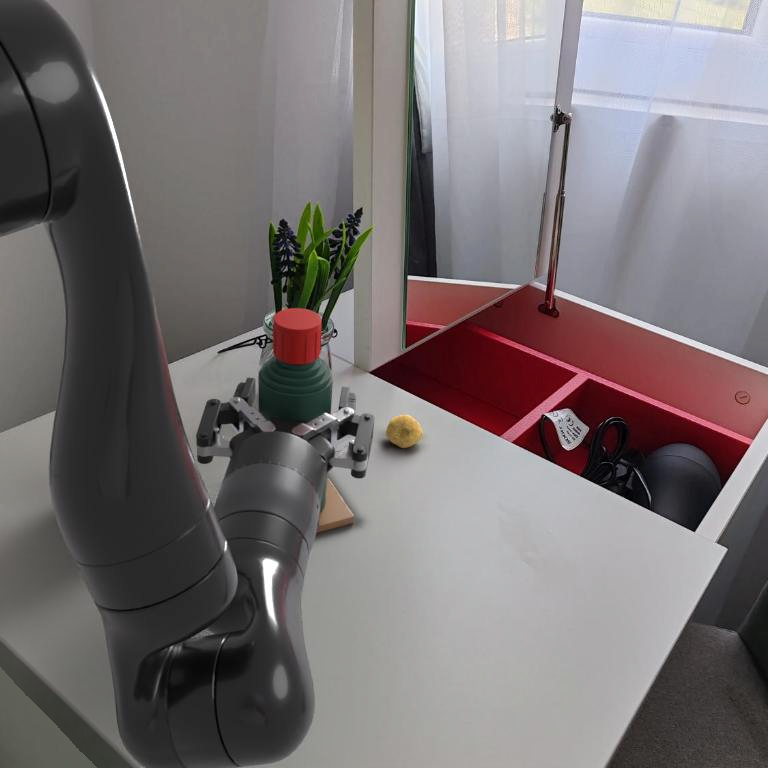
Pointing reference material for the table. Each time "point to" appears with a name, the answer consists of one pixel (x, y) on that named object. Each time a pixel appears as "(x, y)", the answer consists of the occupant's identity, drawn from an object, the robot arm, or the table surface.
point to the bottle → (296, 393)
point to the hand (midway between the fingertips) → (298, 390)
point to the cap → (297, 336)
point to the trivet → (334, 510)
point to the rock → (404, 431)
